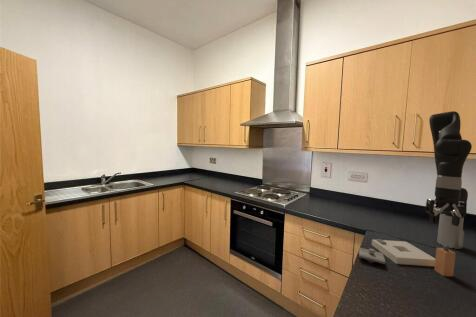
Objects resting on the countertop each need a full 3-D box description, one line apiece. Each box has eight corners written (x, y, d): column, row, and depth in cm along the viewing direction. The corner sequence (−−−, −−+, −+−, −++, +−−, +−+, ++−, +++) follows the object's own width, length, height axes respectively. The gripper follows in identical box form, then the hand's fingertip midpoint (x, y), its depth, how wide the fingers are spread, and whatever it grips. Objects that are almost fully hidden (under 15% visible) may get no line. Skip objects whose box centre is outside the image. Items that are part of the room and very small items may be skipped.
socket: (405, 247, 109) (406, 240, 109) (437, 266, 91) (438, 258, 91) (371, 244, 109) (372, 238, 109) (396, 263, 92) (396, 255, 91)
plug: (443, 270, 88) (446, 243, 87) (453, 276, 84) (456, 248, 83) (434, 270, 88) (437, 243, 87) (443, 275, 84) (446, 247, 83)
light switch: (382, 258, 96) (383, 248, 96) (385, 268, 87) (386, 257, 87) (358, 252, 101) (359, 242, 100) (358, 261, 92) (359, 250, 92)
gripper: (457, 186, 88) (453, 222, 89) (422, 184, 89) (419, 220, 90) (476, 189, 81) (471, 229, 82) (438, 187, 82) (433, 226, 83)
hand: (443, 224), depth 86 cm, fingers open, 8 cm apart
